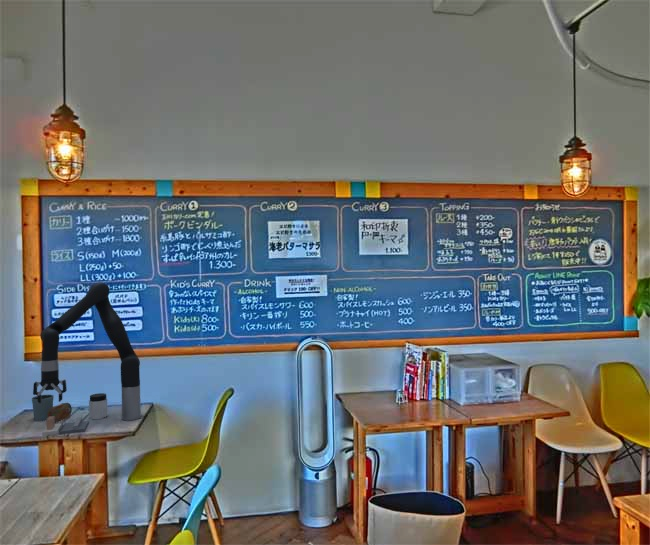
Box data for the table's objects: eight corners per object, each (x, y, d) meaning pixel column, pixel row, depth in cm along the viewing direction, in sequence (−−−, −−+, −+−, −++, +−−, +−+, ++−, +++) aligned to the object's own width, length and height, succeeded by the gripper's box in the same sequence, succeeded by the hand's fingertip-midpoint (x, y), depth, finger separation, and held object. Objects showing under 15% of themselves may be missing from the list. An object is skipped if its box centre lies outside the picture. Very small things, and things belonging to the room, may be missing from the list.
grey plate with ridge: (88, 423, 252) (88, 416, 252) (84, 432, 238) (84, 424, 238) (64, 425, 248) (64, 419, 248) (59, 434, 234) (59, 427, 234)
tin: (51, 424, 251) (51, 408, 251) (46, 424, 252) (46, 408, 252) (72, 416, 266) (72, 400, 266) (67, 416, 266) (67, 400, 266)
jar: (99, 419, 258) (99, 397, 258) (86, 419, 259) (85, 396, 259) (110, 415, 266) (110, 393, 267) (97, 414, 268) (96, 392, 268)
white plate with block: (63, 426, 247) (63, 413, 247) (58, 433, 235) (58, 420, 235) (47, 428, 244) (47, 415, 244) (42, 435, 233) (42, 421, 233)
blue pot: (55, 415, 268) (55, 393, 268) (51, 420, 258) (51, 398, 258) (34, 417, 265) (34, 395, 265) (29, 422, 255) (29, 399, 255)
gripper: (67, 366, 246) (67, 399, 246) (35, 368, 241) (35, 401, 241) (64, 369, 239) (64, 402, 238) (31, 371, 234) (31, 405, 234)
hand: (50, 402), depth 240 cm, fingers open, 8 cm apart
